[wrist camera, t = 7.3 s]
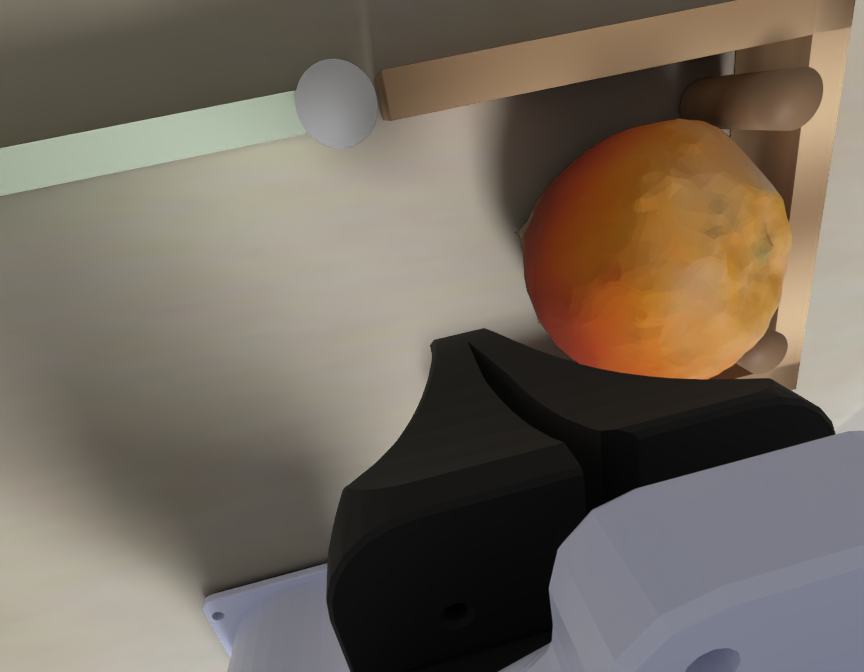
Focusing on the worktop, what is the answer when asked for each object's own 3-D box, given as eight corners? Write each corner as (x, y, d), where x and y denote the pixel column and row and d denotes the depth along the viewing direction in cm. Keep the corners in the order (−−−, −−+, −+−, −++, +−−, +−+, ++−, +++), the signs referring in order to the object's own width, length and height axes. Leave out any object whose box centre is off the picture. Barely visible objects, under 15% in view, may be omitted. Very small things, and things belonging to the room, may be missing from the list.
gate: (362, 65, 15) (367, 51, 12) (377, 136, 16) (385, 139, 13) (-90, 153, 14) (-213, 162, 11) (-49, 223, 15) (-151, 250, 12)
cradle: (739, 355, 22) (818, 401, 18) (447, 429, 21) (468, 494, 17) (772, 0, 16) (896, -34, 13) (374, 78, 15) (384, 65, 12)
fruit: (420, 234, 16) (656, 199, 10) (555, 123, 19) (798, 41, 13) (520, 410, 19) (743, 472, 13) (620, 290, 23) (838, 292, 16)
